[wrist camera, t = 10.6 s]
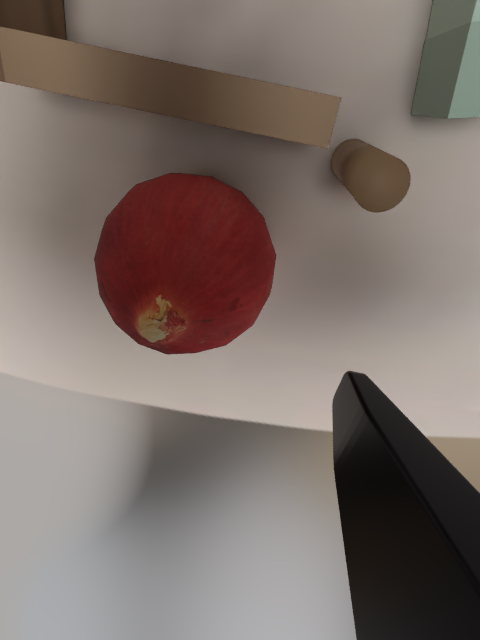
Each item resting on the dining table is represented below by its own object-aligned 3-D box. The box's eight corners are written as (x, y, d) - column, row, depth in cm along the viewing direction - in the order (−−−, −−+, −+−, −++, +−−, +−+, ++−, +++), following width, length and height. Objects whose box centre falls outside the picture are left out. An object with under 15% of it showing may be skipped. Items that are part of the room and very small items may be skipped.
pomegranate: (238, 309, 17) (213, 450, 10) (125, 258, 16) (15, 375, 9) (300, 200, 14) (324, 296, 7) (165, 128, 13) (44, 160, 6)
